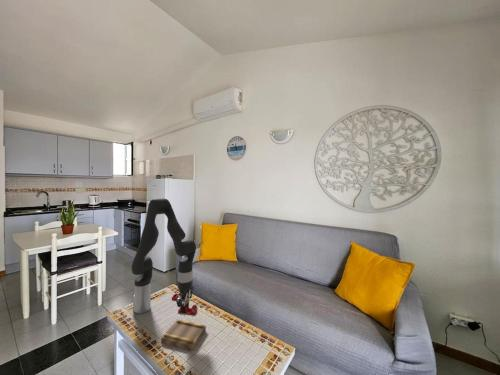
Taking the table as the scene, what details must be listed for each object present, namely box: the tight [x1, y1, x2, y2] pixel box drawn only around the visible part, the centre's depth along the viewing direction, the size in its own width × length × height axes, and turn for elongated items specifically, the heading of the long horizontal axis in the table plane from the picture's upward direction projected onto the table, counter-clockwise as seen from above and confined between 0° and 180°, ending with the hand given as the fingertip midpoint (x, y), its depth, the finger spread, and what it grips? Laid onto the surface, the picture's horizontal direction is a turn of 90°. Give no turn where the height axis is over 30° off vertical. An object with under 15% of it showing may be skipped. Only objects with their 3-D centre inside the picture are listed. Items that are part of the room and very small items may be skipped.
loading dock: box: [160, 319, 207, 352], centre depth 110 cm, size 18×14×4 cm
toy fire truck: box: [171, 293, 198, 317], centre depth 110 cm, size 3×14×10 cm, turn 83°
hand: (184, 310), depth 110 cm, fingers closed on toy fire truck, 3 cm apart
